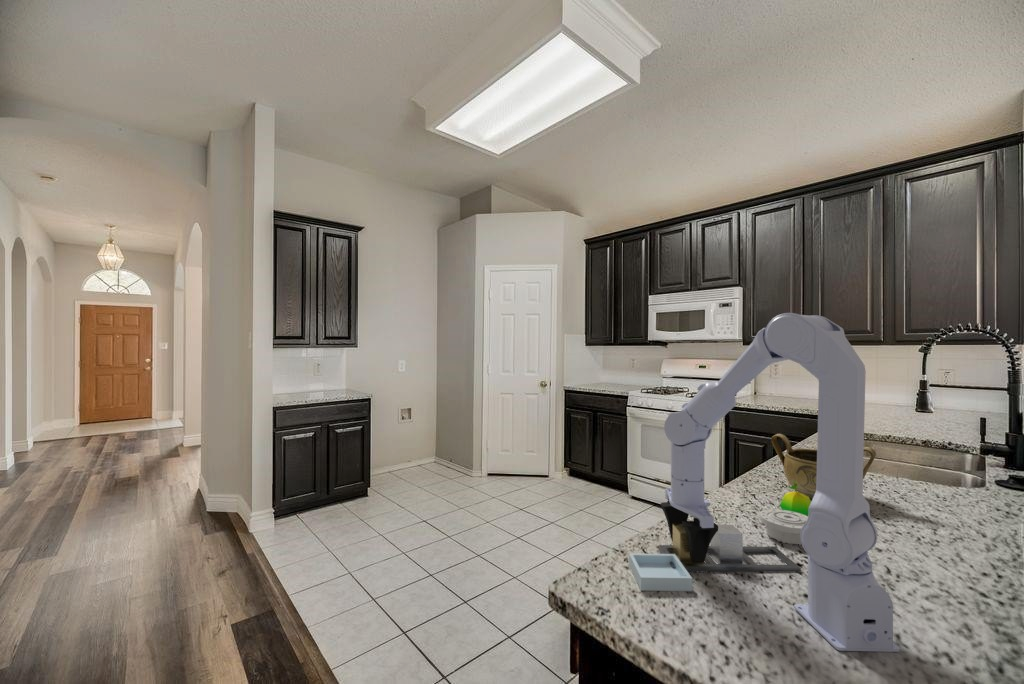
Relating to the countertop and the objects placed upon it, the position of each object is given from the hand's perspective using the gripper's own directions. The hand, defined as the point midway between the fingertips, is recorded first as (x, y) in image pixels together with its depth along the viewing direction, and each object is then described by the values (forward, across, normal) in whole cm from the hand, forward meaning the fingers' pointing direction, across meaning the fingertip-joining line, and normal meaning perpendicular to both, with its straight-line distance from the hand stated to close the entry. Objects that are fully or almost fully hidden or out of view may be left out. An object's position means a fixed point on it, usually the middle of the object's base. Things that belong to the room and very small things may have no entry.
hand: (687, 551), depth 81 cm
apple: (+2, +15, -33) cm, 36 cm away
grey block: (+2, -1, -7) cm, 7 cm away
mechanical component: (0, +4, -21) cm, 22 cm away
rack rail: (+2, -1, -7) cm, 7 cm away
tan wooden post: (+2, 0, 0) cm, 2 cm away
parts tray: (+2, -5, +8) cm, 9 cm away
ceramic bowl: (+2, +30, -51) cm, 59 cm away
